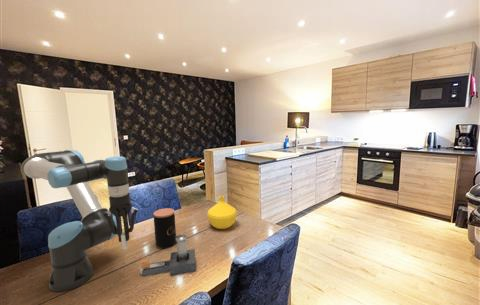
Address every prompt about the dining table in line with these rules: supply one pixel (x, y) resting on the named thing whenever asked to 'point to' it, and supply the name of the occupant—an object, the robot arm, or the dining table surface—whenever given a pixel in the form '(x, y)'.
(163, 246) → the coffee jar
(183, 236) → the peg
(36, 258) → the dining table surface
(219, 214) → the vase
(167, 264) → the dock
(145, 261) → the bolt
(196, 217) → the dining table surface
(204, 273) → the dining table surface
